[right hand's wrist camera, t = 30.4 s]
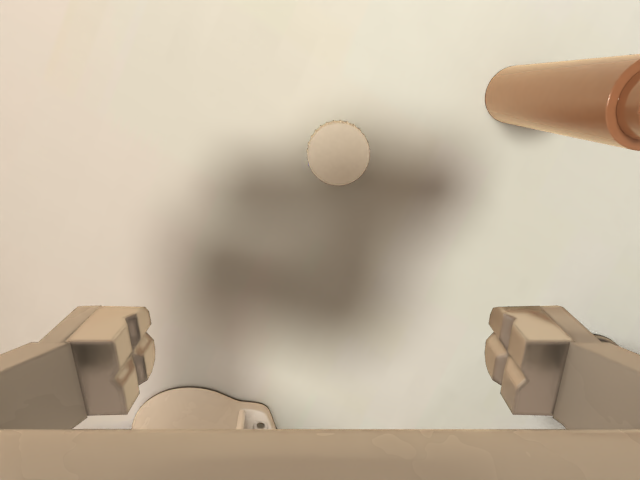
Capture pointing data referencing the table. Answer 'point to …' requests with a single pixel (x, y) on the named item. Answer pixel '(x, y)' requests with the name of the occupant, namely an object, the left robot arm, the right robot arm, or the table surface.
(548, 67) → the tan tall cylinder
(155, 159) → the table surface
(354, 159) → the lid
